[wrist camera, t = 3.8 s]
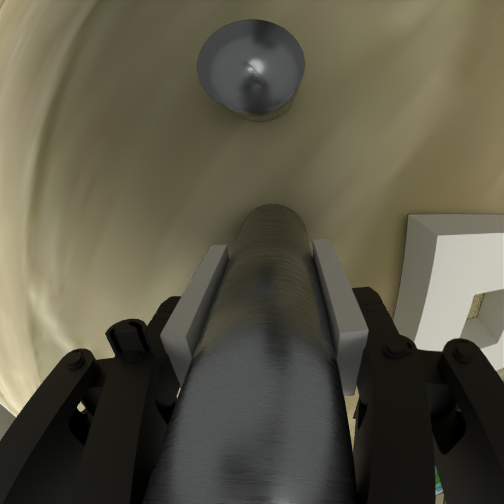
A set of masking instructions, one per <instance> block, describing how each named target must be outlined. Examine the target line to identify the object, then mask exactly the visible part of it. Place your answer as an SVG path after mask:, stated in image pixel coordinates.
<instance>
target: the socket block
mask: <svg viewBox="0 0 504 504" xmlns="http://www.w3.org/2000/svg"><path fill="white" fill-rule="evenodd" d="M481 293H485V295H484V299H483V302H482V305H481V308H480V311H479V314H478V316H477V317H476V318H472V319H468V320H466V319H467V316H468V313H469V310H470V307H471V304H472V300H473V297H474V295H475V294H481ZM393 322H394V324H395V326H396V328H397V330H398V332H399V334H400V335H403V336H405V337H408V338H409V339H411V340H412V341H413V342H414V343H415V345H416V347H417V349H420V350H428V351H442V350H443V348H444V346H445V344H446V343H447V342H448V341H450V340H452V339H456V338H463V339H468V340H470V341H472V342H474V343H475V344H476V345H477V346H478V347H479V348H480V349H481V351H482V352H483V353H484V355H485V356H486V358H487V359H488V360H489V362H490V363H491V365H492V366H493V368H494V369H495V370H496V371H497V370H499V369H501V368H504V215H497V214H415V215H408V224H407V235H406V245H405V254H404V261H403V269H402V275H401V282H400V288H399V293H398V299H397V304H396V309H395V314H394V319H393Z"/></svg>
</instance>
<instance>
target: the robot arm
mask: <svg viewBox="0 0 504 504" xmlns="http://www.w3.org/2000/svg"><path fill="white" fill-rule="evenodd" d="M313 260H314V264H315V268H316V272H317V276H318V280H319V283H320V287H321V292H322V296H323V300H324V304H325V308H326V312H327V317H328V321H329V325H330V330H331V334H332V339H333V344H334V348H335V353H336V358H337V363H338V368H339V373H340V378H341V383H342V389H343V394H344V396H350V395H354V394H355V390H356V386H357V388H358V392H359V400H358V403H357V406H356V410H355V413H354V416H353V419H356V425H355V437H354V448H353V458H354V466H355V475H356V484H357V493H358V504H435V499H436V498H435V497H436V481H435V466H436V469H437V473H438V476H439V479H440V483H441V486H442V489H443V493H444V497H445V500H446V504H504V383H503V381H502V379H501V378H500V376H499V375H498V373H497V372H496V370H495V369H494V368H493V366H492V365H491V363H490V362H489V360H488V359H487V358H486V356H485V355H484V353H483V352H482V351H481V349H480V348H479V347H478V346H477V345H476V344H475V343H474V342H472V341H470V340H468V339H463V338H456V339H452V340H450V341H448V342H447V343H446V344H445V346H444V348H443V350H442V351H428V350H420V349H417V347H416V345H415V343H414V342H413V341H412V340H411V339H409V338H408V337H405V336H403V335H400V334H399V332H398V330H397V328H396V326H395V324H394V322H393V320H392V318H391V317H390V315H389V313H388V311H386V307H385V305H384V304H383V302H382V300H381V298H380V296H379V294H378V293H377V292H375V291H374V290H373V289H371V288H370V287H361V288H351V286H350V284H349V281H348V279H347V277H346V274H345V272H344V270H343V268H342V265H341V263H340V261H339V259H338V257H337V255H336V252H335V250H334V248H333V246H332V244H331V242H330V240H329V239H313ZM228 262H229V256H228V249H227V245H211V247H210V248H209V250H208V252H207V253H206V255H205V257H204V259H203V260H202V262H201V264H200V265H199V267H198V269H197V270H196V272H195V274H194V276H193V277H192V279H191V281H190V283H189V284H188V286H187V288H186V290H185V291H184V293H183V295H182V296H171V297H170V298H168V299H167V300H166V301H164V302H163V303H162V304H161V305H160V307H159V308H158V310H157V313H155V315H154V316H153V318H152V320H151V321H150V323H149V324H148V326H147V325H146V324H145V323H144V321H141V320H139V319H127V320H122V321H120V322H118V323H115V324H114V325H113V326H111V327H110V328H109V329H108V330H107V331H106V333H105V334H106V337H107V339H108V341H109V343H110V345H111V347H112V349H113V351H114V353H115V357H114V358H108V359H99V360H96V359H95V358H94V356H93V354H92V352H91V351H90V350H87V349H76V350H73V351H71V352H69V353H67V354H66V355H65V356H64V357H63V358H62V359H61V360H60V362H59V363H58V364H57V365H56V367H55V368H54V369H53V370H52V371H51V373H50V374H49V375H48V376H47V378H46V379H45V380H44V381H43V383H42V384H41V385H40V387H39V388H38V389H37V390H36V392H35V393H34V394H33V396H32V397H31V398H30V400H29V401H28V402H27V404H26V405H25V406H24V408H23V409H22V410H21V412H20V413H19V415H18V416H17V417H16V419H15V420H14V422H13V423H12V425H11V426H10V427H9V429H8V430H7V432H6V433H5V435H4V436H3V438H2V439H1V441H0V504H142V501H143V498H144V495H145V492H146V489H147V486H148V483H149V480H150V477H151V474H152V471H153V468H154V465H155V462H156V459H157V456H158V453H159V450H160V447H161V444H162V442H163V439H164V436H165V433H166V430H167V427H168V424H169V421H170V419H171V416H172V413H173V410H174V407H175V404H176V402H177V397H176V396H177V393H178V390H179V388H182V385H183V382H184V379H185V376H186V374H187V371H188V368H189V365H190V363H191V360H192V357H193V355H194V352H195V349H196V346H197V344H198V341H199V338H200V336H201V333H202V330H203V328H204V325H205V322H206V320H207V317H208V314H209V312H210V309H211V306H212V304H213V301H214V298H215V296H216V293H217V290H218V288H219V285H220V283H221V280H222V277H223V275H224V272H225V270H226V267H227V264H228ZM80 401H81V403H82V404H83V405H84V407H85V409H84V410H83V411H82V412H80V411H79V410H78V409H77V406H78V404H79V403H80Z"/></svg>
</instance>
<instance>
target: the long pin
mask: <svg viewBox="0 0 504 504" xmlns="http://www.w3.org/2000/svg"><path fill="white" fill-rule="evenodd" d="M142 504H358V493H357V484H356V475H355V466H354V458H353V451H352V444H351V437H350V430H349V424H348V418H347V412H346V406H345V400H344V394H343V389H342V383H341V378H340V373H339V368H338V363H337V358H336V353H335V348H334V344H333V339H332V334H331V330H330V325H329V321H328V317H327V312H326V308H325V304H324V300H323V296H322V292H321V287H320V283H319V280H318V276H317V272H316V268H315V264H314V260H313V257H312V253H311V249H310V245H309V242H308V238H307V235H306V231H305V228H304V225H303V222H302V220H301V219H300V217H299V216H298V215H297V214H296V213H295V212H294V211H292V210H291V209H289V208H287V207H285V206H282V205H276V204H270V205H265V206H261V207H259V208H257V209H255V210H254V211H253V212H251V213H250V214H249V215H248V217H247V218H246V220H245V221H244V224H243V226H242V229H241V231H240V234H239V236H238V239H237V241H236V244H235V247H234V249H233V252H232V254H231V257H230V259H229V262H228V264H227V267H226V270H225V272H224V275H223V277H222V280H221V283H220V285H219V288H218V290H217V293H216V296H215V298H214V301H213V304H212V306H211V309H210V312H209V314H208V317H207V320H206V322H205V325H204V328H203V330H202V333H201V336H200V338H199V341H198V344H197V346H196V349H195V352H194V355H193V357H192V360H191V363H190V365H189V368H188V371H187V374H186V376H185V379H184V382H183V385H182V388H181V390H180V393H179V396H178V399H177V402H176V404H175V407H174V410H173V413H172V416H171V419H170V421H169V424H168V427H167V430H166V433H165V436H164V439H163V442H162V444H161V447H160V450H159V453H158V456H157V459H156V462H155V465H154V468H153V471H152V474H151V477H150V480H149V483H148V486H147V489H146V492H145V495H144V498H143V501H142Z"/></svg>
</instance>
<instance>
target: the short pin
mask: <svg viewBox="0 0 504 504" xmlns="http://www.w3.org/2000/svg"><path fill="white" fill-rule="evenodd" d="M304 66H305V63H304V56H303V52H302V49H301V47H300V45H299V43H298V42H297V40H296V39H295V38H294V37H293V36H292V35H291V34H290V33H289V32H288V31H287V30H285V29H284V28H282V27H280V26H279V25H276V24H274V23H271V22H268V21H263V20H253V19H251V20H241V21H237V22H233V23H230V24H228V25H226V26H224V27H222V28H220V29H219V30H217V31H216V32H215V33H213V34H212V35H211V36H210V37H209V38H208V40H207V41H206V42H205V44H204V45H203V47H202V49H201V51H200V54H199V57H198V63H197V71H198V77H199V80H200V83H201V85H202V87H203V88H204V90H205V91H206V93H207V94H208V95H209V96H210V97H211V98H212V99H214V100H215V101H216V102H218V103H220V104H221V105H223V106H224V107H226V108H228V109H230V110H231V111H233V112H234V113H236V114H238V115H239V116H241V117H243V118H245V119H247V120H251V121H256V122H264V121H270V120H273V119H275V118H278V117H279V116H281V115H282V114H284V113H285V112H286V111H287V110H288V108H289V107H290V106H291V104H292V102H293V99H294V97H295V94H296V92H297V89H298V87H299V85H300V82H301V80H302V77H303V73H304Z"/></svg>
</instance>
